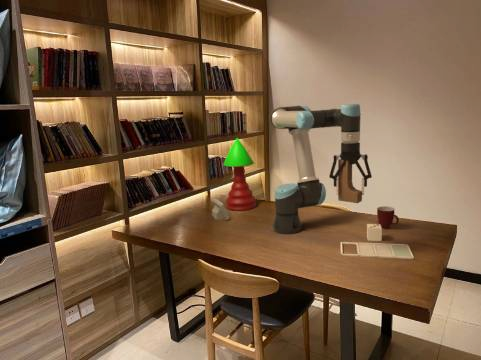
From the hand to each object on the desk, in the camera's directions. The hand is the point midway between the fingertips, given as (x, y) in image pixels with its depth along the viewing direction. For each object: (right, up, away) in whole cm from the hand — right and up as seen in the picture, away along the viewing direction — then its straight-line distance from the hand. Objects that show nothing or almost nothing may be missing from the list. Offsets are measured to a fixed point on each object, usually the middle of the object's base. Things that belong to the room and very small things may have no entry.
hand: (350, 193), depth 155 cm
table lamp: (-46, -11, +81) cm, 94 cm away
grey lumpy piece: (-58, -17, +61) cm, 86 cm away
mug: (+28, -18, +28) cm, 44 cm away
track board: (+12, -25, +3) cm, 27 cm away
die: (+16, -22, +16) cm, 31 cm away
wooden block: (0, -3, +1) cm, 3 cm away
